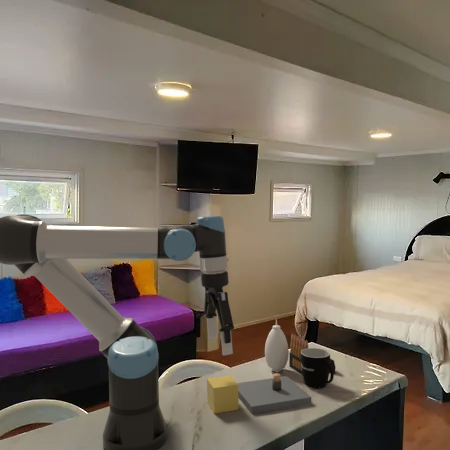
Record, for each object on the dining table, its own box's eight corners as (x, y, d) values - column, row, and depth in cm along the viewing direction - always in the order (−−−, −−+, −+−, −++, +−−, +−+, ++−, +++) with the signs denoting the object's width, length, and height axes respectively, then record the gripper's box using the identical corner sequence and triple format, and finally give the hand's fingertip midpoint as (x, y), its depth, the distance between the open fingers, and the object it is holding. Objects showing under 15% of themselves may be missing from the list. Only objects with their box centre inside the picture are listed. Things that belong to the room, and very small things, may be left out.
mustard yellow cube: (214, 413, 117) (213, 388, 117) (207, 402, 124) (206, 378, 123) (238, 409, 119) (238, 384, 119) (230, 399, 126) (230, 375, 125)
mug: (295, 382, 136) (294, 351, 136) (316, 376, 141) (316, 346, 141) (321, 396, 126) (321, 362, 126) (343, 389, 131) (343, 356, 130)
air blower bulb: (292, 370, 147) (292, 317, 146) (280, 377, 141) (279, 322, 141) (274, 364, 152) (273, 314, 152) (260, 371, 146) (260, 318, 146)
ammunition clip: (310, 376, 141) (310, 340, 141) (305, 377, 141) (305, 341, 140) (293, 365, 151) (293, 331, 151) (289, 366, 151) (288, 332, 150)
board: (251, 414, 116) (251, 390, 116) (232, 390, 132) (232, 369, 131) (311, 404, 122) (311, 381, 121) (286, 382, 137) (286, 362, 137)
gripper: (242, 276, 109) (248, 358, 110) (214, 264, 133) (219, 332, 134) (214, 279, 107) (220, 363, 108) (190, 267, 131) (195, 336, 132)
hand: (219, 346), depth 121 cm, fingers open, 13 cm apart
